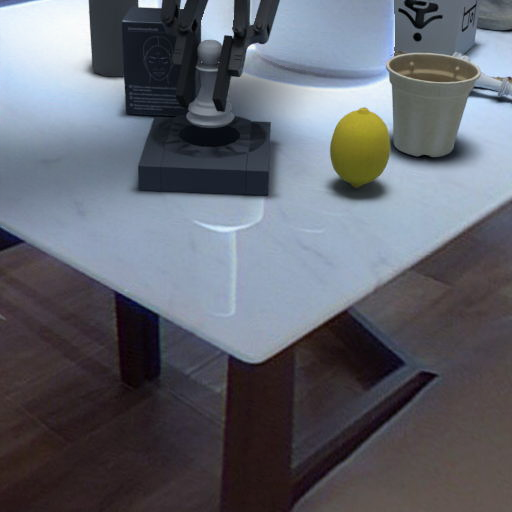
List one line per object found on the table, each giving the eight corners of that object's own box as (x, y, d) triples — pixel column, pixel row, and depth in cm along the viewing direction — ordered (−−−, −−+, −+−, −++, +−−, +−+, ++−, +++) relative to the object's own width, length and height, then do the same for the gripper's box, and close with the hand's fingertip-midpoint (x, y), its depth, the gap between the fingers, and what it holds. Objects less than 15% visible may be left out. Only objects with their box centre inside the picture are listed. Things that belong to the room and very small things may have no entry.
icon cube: (485, -30, 126) (474, 44, 131) (412, -40, 130) (404, 32, 135) (463, -13, 118) (452, 65, 123) (387, -25, 122) (379, 52, 127)
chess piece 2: (442, 93, 116) (522, 120, 113) (441, 77, 112) (525, 105, 109) (455, 61, 116) (535, 87, 114) (456, 45, 112) (539, 71, 109)
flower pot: (394, 122, 105) (403, 46, 101) (478, 140, 102) (491, 61, 98) (364, 153, 98) (372, 72, 94) (454, 172, 95) (466, 89, 90)
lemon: (350, 205, 88) (358, 123, 84) (315, 182, 92) (321, 103, 88) (397, 192, 90) (407, 112, 86) (361, 170, 94) (369, 93, 90)
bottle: (83, 67, 118) (75, -58, 110) (121, 58, 121) (117, -64, 114) (110, 80, 114) (104, -49, 107) (150, 70, 118) (146, -55, 110)
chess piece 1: (237, 127, 92) (238, 47, 88) (188, 129, 92) (187, 48, 88) (231, 109, 96) (232, 31, 92) (184, 111, 96) (183, 32, 92)
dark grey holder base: (138, 190, 89) (138, 165, 88) (156, 133, 101) (155, 110, 100) (267, 195, 89) (268, 171, 88) (270, 137, 101) (271, 115, 100)
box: (201, 100, 109) (202, 8, 104) (195, 118, 105) (195, 23, 99) (133, 96, 110) (130, 4, 105) (124, 114, 105) (120, 19, 100)
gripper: (323, -86, 97) (287, 128, 91) (172, -96, 100) (128, 111, 94) (319, -134, 90) (280, 95, 84) (156, -144, 93) (107, 77, 87)
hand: (200, 103), depth 89 cm, fingers closed on chess piece 1, 3 cm apart
